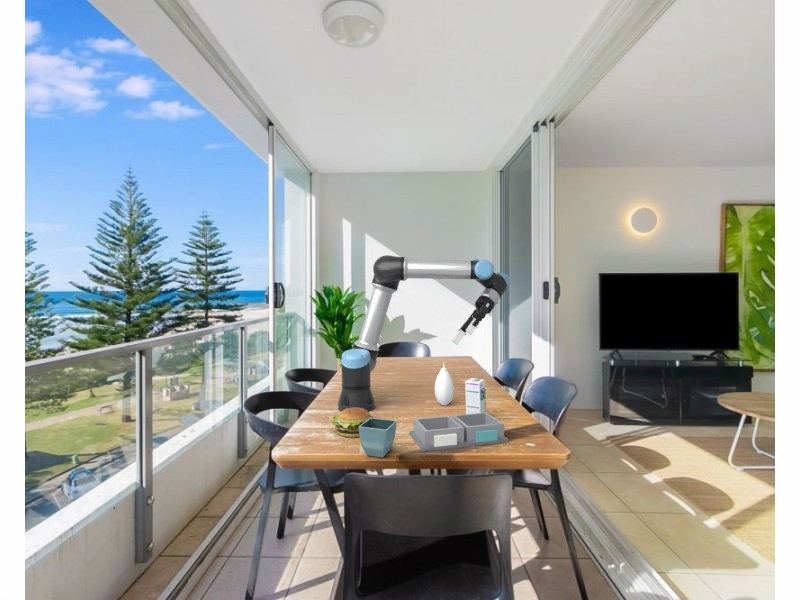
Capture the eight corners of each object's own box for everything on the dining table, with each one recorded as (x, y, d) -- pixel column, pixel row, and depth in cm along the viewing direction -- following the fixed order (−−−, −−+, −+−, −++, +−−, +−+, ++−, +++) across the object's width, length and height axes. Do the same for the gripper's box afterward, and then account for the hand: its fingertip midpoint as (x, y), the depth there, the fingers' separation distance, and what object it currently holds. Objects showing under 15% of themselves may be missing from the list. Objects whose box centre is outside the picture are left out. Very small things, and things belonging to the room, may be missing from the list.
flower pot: (397, 449, 118) (397, 420, 118) (387, 461, 110) (386, 429, 110) (370, 446, 121) (370, 417, 121) (358, 457, 113) (357, 426, 113)
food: (324, 431, 135) (324, 408, 135) (359, 423, 143) (359, 401, 143) (344, 443, 124) (344, 418, 124) (381, 433, 132) (381, 409, 132)
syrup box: (480, 422, 143) (480, 382, 142) (465, 419, 146) (465, 380, 146) (486, 417, 148) (485, 379, 147) (471, 415, 151) (470, 377, 150)
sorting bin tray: (422, 451, 117) (422, 433, 117) (409, 434, 131) (409, 417, 131) (508, 442, 123) (508, 424, 123) (486, 426, 138) (486, 410, 138)
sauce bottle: (431, 404, 166) (430, 361, 165) (444, 401, 170) (444, 359, 170) (443, 408, 159) (443, 364, 159) (457, 405, 164) (457, 362, 164)
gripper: (509, 295, 154) (483, 334, 144) (480, 317, 176) (456, 352, 166) (493, 283, 155) (466, 321, 145) (467, 306, 177) (442, 341, 167)
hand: (461, 337), depth 156 cm, fingers open, 13 cm apart
